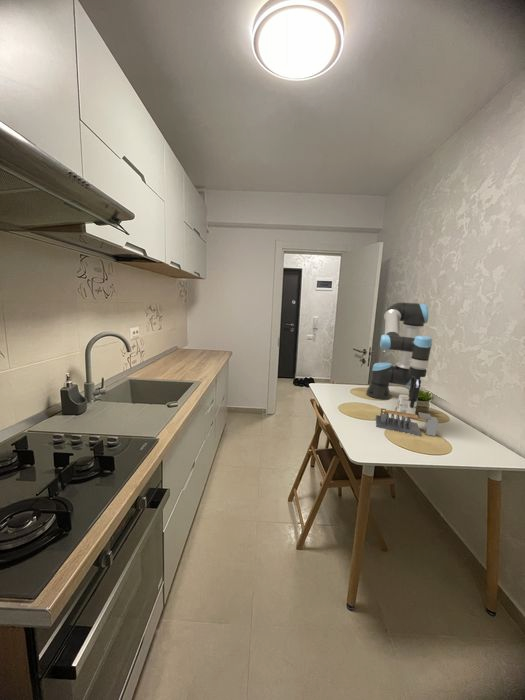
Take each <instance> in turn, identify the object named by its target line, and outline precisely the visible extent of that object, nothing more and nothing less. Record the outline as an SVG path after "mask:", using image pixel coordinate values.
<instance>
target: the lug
mask: <svg viewBox="0 0 525 700" xmlns="http://www.w3.org/2000/svg"><path fill="white" fill-rule="evenodd" d="M417 415H418V418H421V419H422V418H423V419H425V424H424V429H423V430H424V433H425V435H429V436H433V437H436V434H437V429H438V423H439V419H437V417H435V416H431V414H430V413H424V412H419V411H418V414H417Z"/></svg>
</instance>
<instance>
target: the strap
mask: <svg viewBox="0 0 525 700" xmlns="http://www.w3.org/2000/svg"><path fill="white" fill-rule="evenodd" d="M385 409H386V408H383V409H382V412H383V413H388V414H389V415H391V414H394V416H395V415H396V416H397V415H401V416H407V417H413V418H412V419H418V418H419V415H418V414H416V413H415V414H410V413H403V412H397V410H391V409H386V410H385ZM407 417H406V418H407Z"/></svg>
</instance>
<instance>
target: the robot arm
mask: <svg viewBox="0 0 525 700" xmlns="http://www.w3.org/2000/svg"><path fill="white" fill-rule="evenodd" d="M383 318H384V323H385V325H384V326H385V327H384V334H382V335H381V336H380V342H379V348H381V349H385V350H390V351H400V353H399V360H398V362H396V363H395V365H393V364H392V363H391V362H376V363H374V364H373V365H372V369H371V371H372V372H371V377H370V384H369V386H368V387H367V388H366V395H367V396H368V397H370V398H374V399H378V400H389V399H390V397H391V393H390V389H389V385H390V384H395V385H400V386H404V387H405V386H407V387H409V394H408V395H409V399H408V401H409V403H408V409H407V413H411V414H413V413H414V407H415V402H417V403H418V399H417V398H418V397H419V392H420V388H421V386H422V385H421V384H422V380H421V378H426V376H427V371H428V370H427V369H428V366H429V362H430V361H429V359H430V355H431V349H432V346H433V337H430V336H426V335H425V336H424V335H420V333H421V332H420V331H421V328H423V327H424V326H425V324H428V321H429V308H428V305H427V304H424V303H420V302H419V303H417V302H415V303H414V302H400V301H399V302H395V303H393V304H392V305H390V306H389V307H387V308H386V310H384V314H383ZM400 322H402V325H403V326H404V330H403V336H401V334H400V332H401V331H400Z"/></svg>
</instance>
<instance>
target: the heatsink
mask: <svg viewBox="0 0 525 700" xmlns="http://www.w3.org/2000/svg"><path fill="white" fill-rule="evenodd" d="M382 409H383V408H382V407H381V409H380V415H378V414H376V415H375V427H376V428H380V429H383V430H389V431H393V430H394V431H393V432H398V431H399V433H403V432H405V433H404V434H407V433H410V434H409V435H412V434H414V435H413V436H417V435H419V436H418V437H421V434H422V432H421V430H420V427H419V424H418V422H413V421H412V420H411V418H410V417H404V416H402V417H399V415H396V416H395V415H394V414H388V413H383V412H382ZM384 409H385V410H387V408H384Z"/></svg>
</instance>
